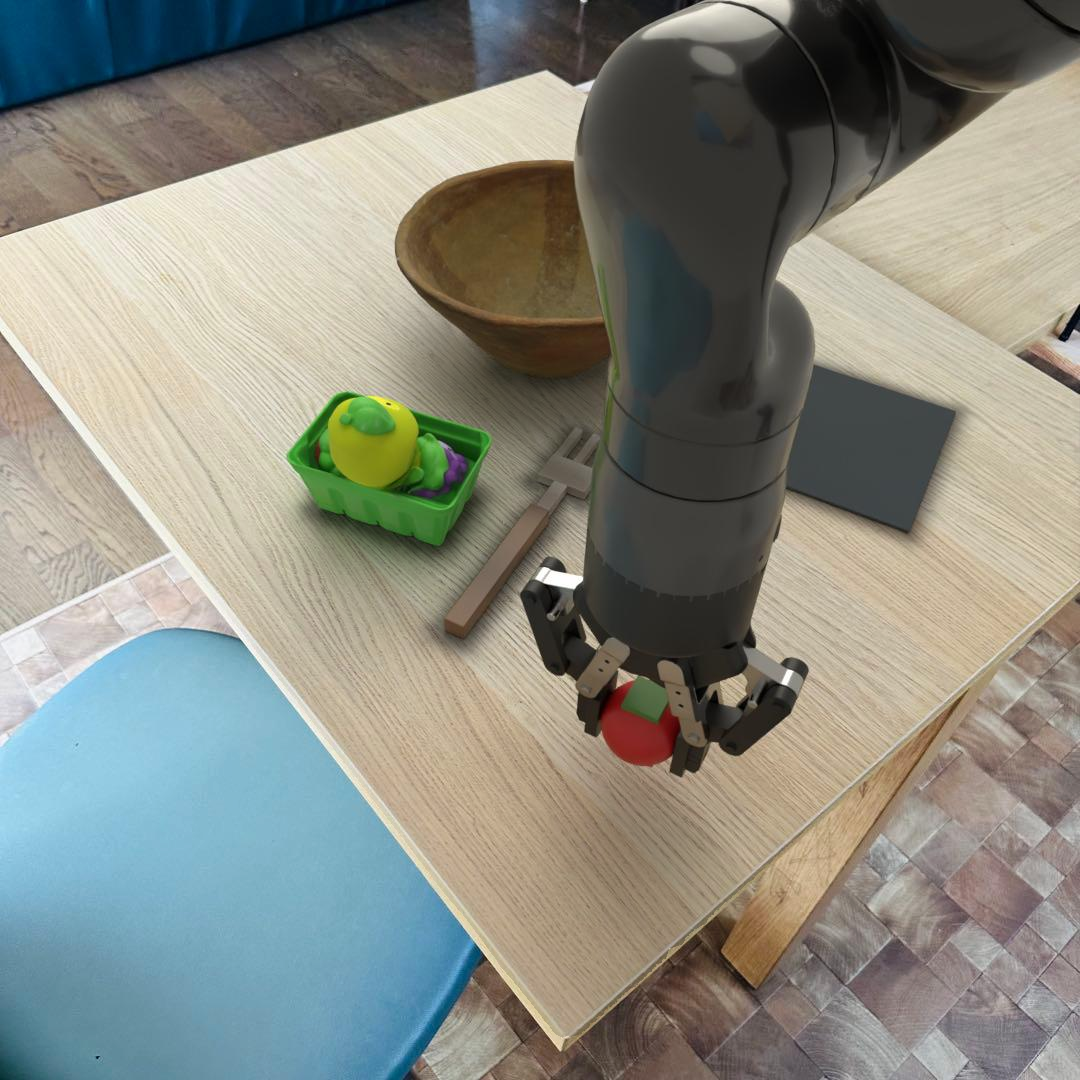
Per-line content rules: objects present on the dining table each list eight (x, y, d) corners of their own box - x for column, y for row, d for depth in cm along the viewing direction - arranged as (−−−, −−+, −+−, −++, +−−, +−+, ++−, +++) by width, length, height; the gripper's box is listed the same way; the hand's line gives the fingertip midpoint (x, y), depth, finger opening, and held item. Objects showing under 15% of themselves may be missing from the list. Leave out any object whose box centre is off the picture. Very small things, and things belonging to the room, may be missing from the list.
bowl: (696, 453, 73) (719, 338, 66) (379, 424, 74) (366, 308, 66) (695, 278, 88) (714, 169, 80) (430, 256, 89) (424, 146, 81)
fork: (573, 434, 74) (574, 421, 73) (618, 451, 73) (620, 438, 72) (428, 623, 62) (427, 611, 61) (480, 647, 61) (479, 634, 60)
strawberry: (693, 730, 55) (705, 682, 52) (661, 796, 52) (671, 750, 49) (619, 697, 56) (626, 648, 53) (583, 759, 54) (588, 712, 50)
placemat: (955, 413, 77) (956, 410, 77) (908, 533, 68) (909, 531, 68) (753, 346, 82) (753, 344, 81) (686, 451, 73) (686, 449, 73)
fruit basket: (497, 488, 70) (496, 355, 62) (442, 580, 64) (434, 448, 56) (347, 443, 72) (328, 310, 64) (282, 529, 67) (252, 394, 58)
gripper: (481, 515, 41) (487, 739, 54) (822, 655, 37) (742, 863, 50) (566, 409, 46) (553, 639, 59) (879, 523, 42) (792, 745, 54)
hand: (640, 741), depth 54 cm, fingers closed on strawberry, 4 cm apart
